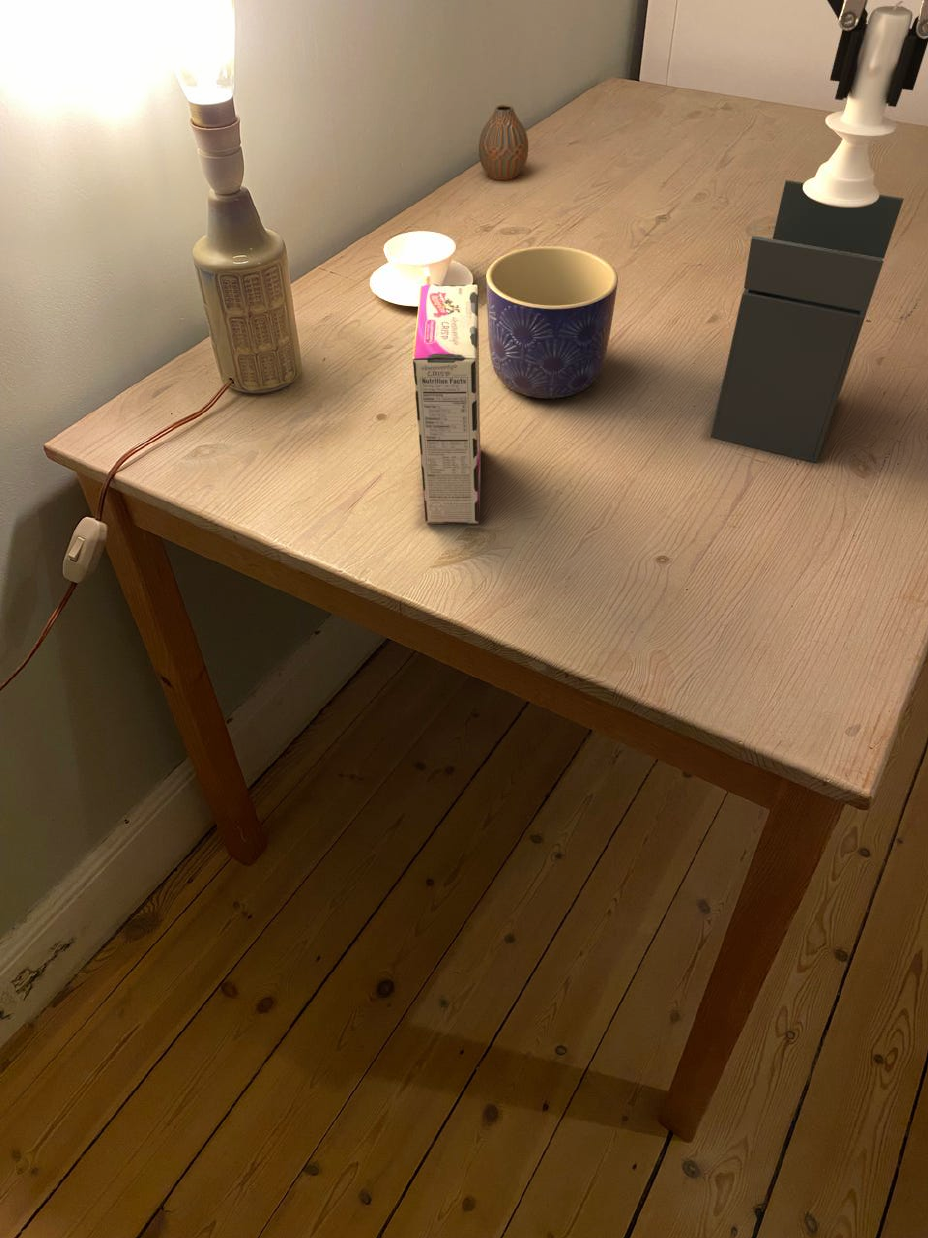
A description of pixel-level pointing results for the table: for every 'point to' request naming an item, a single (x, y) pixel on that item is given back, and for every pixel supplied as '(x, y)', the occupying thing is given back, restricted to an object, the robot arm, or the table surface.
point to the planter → (549, 319)
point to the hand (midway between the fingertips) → (868, 94)
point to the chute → (798, 335)
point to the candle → (863, 114)
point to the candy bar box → (448, 402)
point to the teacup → (417, 267)
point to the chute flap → (811, 273)
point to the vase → (503, 144)
